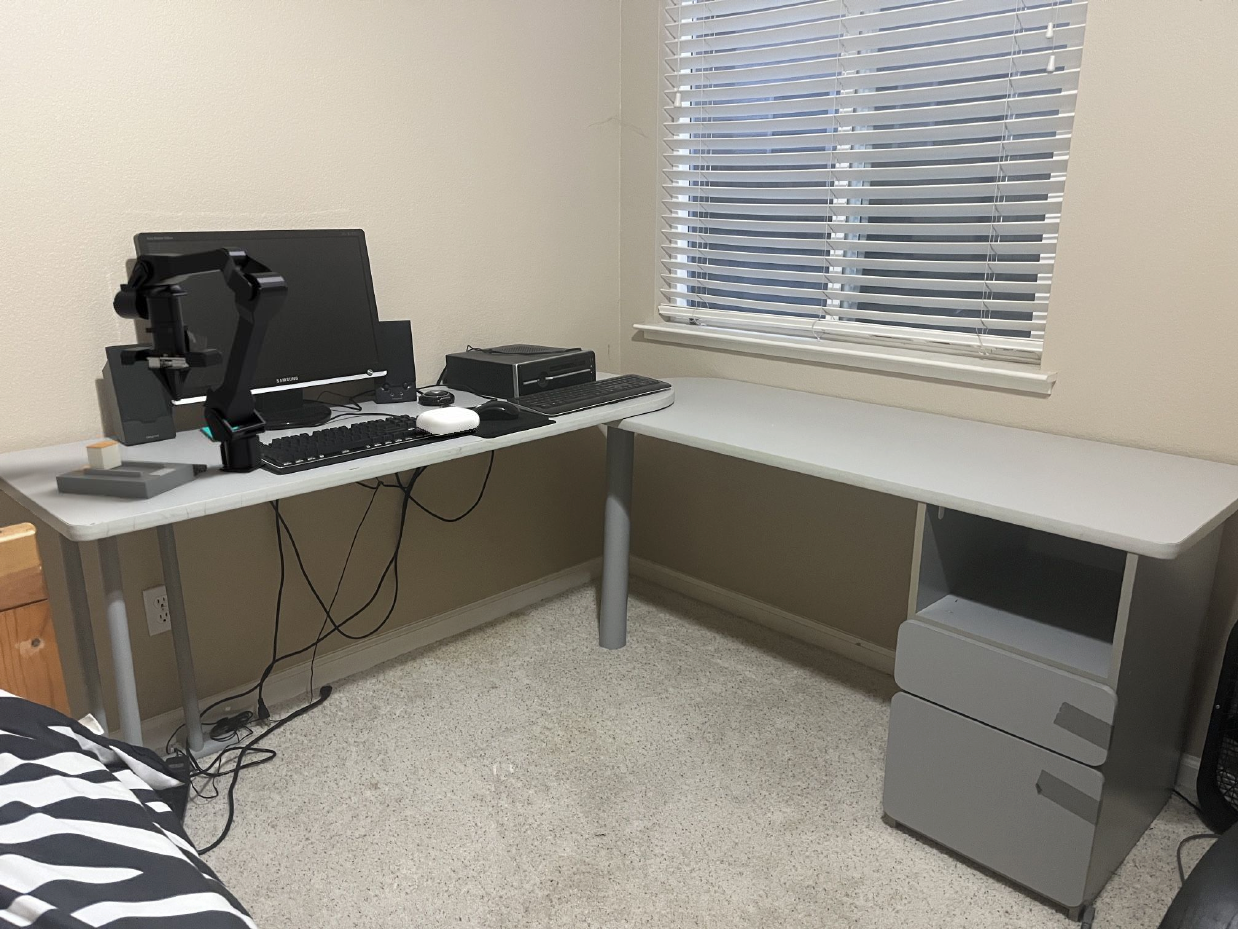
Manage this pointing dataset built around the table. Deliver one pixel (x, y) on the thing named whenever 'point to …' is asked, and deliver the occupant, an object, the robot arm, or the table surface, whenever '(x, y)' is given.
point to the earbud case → (448, 420)
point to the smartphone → (208, 433)
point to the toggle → (103, 455)
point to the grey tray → (126, 479)
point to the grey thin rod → (201, 467)
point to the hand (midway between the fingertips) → (177, 400)
